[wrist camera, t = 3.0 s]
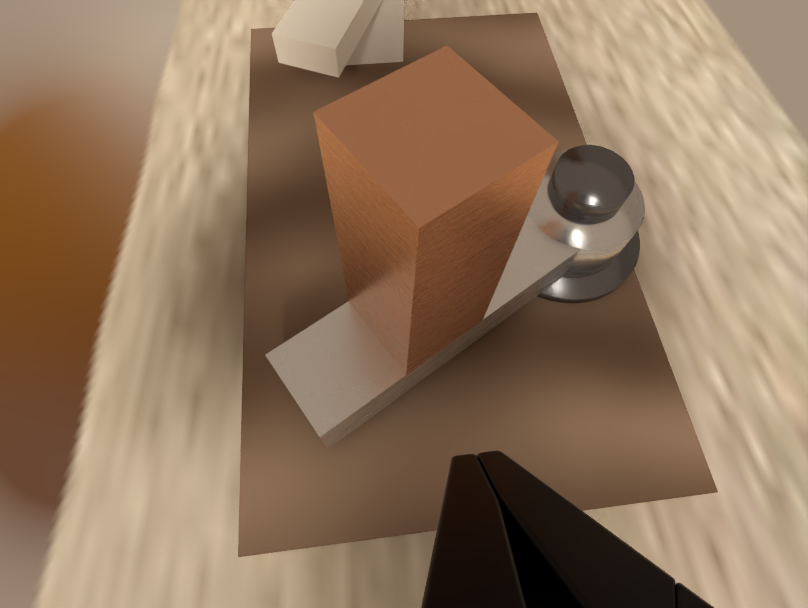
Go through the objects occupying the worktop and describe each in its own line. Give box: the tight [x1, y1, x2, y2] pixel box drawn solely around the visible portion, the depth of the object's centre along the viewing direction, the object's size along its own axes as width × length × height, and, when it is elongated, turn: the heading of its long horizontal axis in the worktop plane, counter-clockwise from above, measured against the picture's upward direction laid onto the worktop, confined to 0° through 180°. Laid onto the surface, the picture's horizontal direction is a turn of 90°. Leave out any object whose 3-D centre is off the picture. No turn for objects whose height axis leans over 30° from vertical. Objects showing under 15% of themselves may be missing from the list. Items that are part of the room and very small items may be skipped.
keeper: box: [272, 0, 404, 78], centre depth 21 cm, size 8×5×4 cm
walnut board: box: [238, 13, 718, 557], centre depth 20 cm, size 24×15×1 cm, turn 7°
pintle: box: [537, 145, 640, 303], centre depth 18 cm, size 6×6×4 cm
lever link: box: [266, 46, 645, 449], centre depth 13 cm, size 4×14×10 cm, turn 127°
